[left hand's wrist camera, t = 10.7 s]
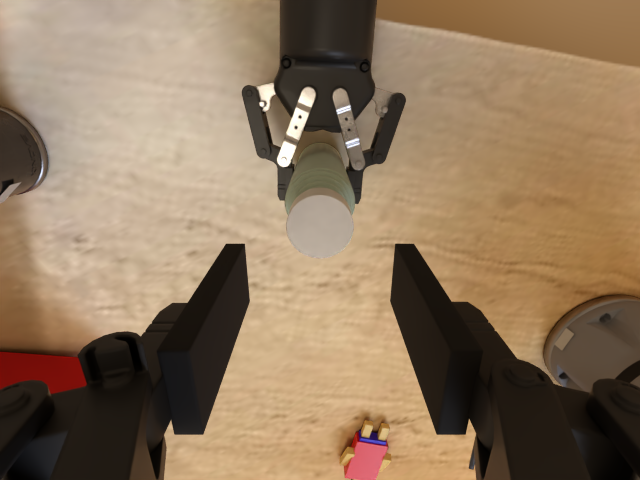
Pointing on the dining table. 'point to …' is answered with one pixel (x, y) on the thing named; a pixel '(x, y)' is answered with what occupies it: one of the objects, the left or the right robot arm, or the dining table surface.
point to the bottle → (320, 174)
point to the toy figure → (366, 453)
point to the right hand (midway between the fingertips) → (319, 205)
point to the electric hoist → (41, 370)
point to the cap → (320, 223)
